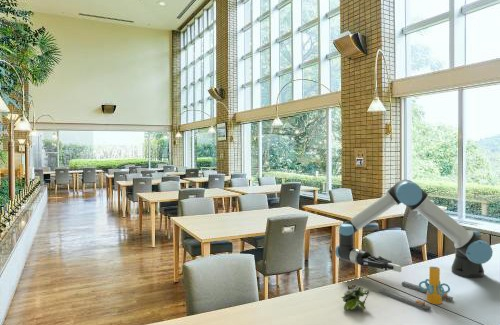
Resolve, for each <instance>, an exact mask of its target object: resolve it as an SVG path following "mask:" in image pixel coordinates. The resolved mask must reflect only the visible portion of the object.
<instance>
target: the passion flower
mask: <svg viewBox="0 0 500 325" xmlns="http://www.w3.org/2000/svg"><path fill="white" fill-rule="evenodd" d="M347 289H348V291H345V292H344V294H343V296H341V299H342V302H344V305H343V309H344V311H348V310H350V311H351V310H352V311H353V310H354V309H356V307H358V306H360V307H361V308H362V311H364V310H365V309H367V308H366V306H365V304H366V300H367V298H368V296H369V294H370V291H369V289H366V290H364V288H363V287H361V286H359V287H358V286H357V284H351V285H347ZM365 295H366V296H365ZM364 296H365V298H364V300H363V301H362V300H360V297H362V298H363V297H364Z"/></svg>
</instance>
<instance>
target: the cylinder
mask: <svg viewBox="0 0 500 325" xmlns="http://www.w3.org/2000/svg"><path fill="white" fill-rule="evenodd" d="M440 270H441V269H440V267H437V266H429V272H428V273H429V274H428V276H429V278H426V279H425V280H421V281H420V282H419V283H418V284H419V285H418V286H419V287H420V289H421V290H424V291H426V290H427V294H426V301H427V302H428V303H430V304H432V305H441V304H442V303H443V299H442V296H443V295H444V293H447V294H448V293H449V292H450V291H451V286H449V284H447V283H441V279H440V274H441V271H440ZM422 284H424V285H425V288H426V289H423V288H424V287H423V288H422ZM443 286H445V287H447V290H446V291H445V289H444V287H443ZM441 292H442V293H441Z"/></svg>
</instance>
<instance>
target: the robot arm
mask: <svg viewBox="0 0 500 325" xmlns="http://www.w3.org/2000/svg"><path fill="white" fill-rule="evenodd" d="M400 204H403V205H405V206H406V208H408V209H409V210H411V211H413V212H416V211H417V213H419V214H420V215H421V216H422V217H424V219H426V220H427V221H428V222H429V223H430V224H432V225H433V226H434V227H435V228H436V229H437V230H439V231H440V232H441V233H442V234H444V235H445V236H446V237H447V238H448V239H450V241H452V243H453V244H454V248H455V250H454V251H455V252H454V253H455V254H454V255H455V256H454V259H453V263H452V265H451V273H453V274H454V275H458V276H460V277H464V278H472V279H476V278H483V277H485V270H484V267H483V264H486V263H488V262H490V260H491V258H492V257H493V253H494V252H493V248H492V246H491V245H490V243H489V242H488V241H485V240H484V239H482V234H481V232H480V231H478V230H471V229H469V230H468V229H466V228H464V226H462V225H461V224H459V222H458V221H456V220H455V219H454V218H452V217H451V215H449V214H447V213H446V212H445V211H444V210H443V209H441V207H439V206H438V205H437V204H435V203H434V201H432V200H431V199H430V198H429V194H428V193H427V192H426V191H425V190H424V189H422V188H421V187H420V185H419V184H417V183H416V182H414V181H412V180H409V179H401V180H399V181H398V182H396V183H395V184H394V185H393V186H391V187H390V188H389V189H387V190H386V192H385V194H384V195H382V196H381V197H379V198H378V199H377V200H375V201H374V202H373V203H371V204H370V205H369V206H367V207H365V208H364V209H363V210H361V211H359V212H358V213H357V214H355V215H354V216H353V217H352V218H350V219H348V220H347V221H345V222H343V223H341V224H340V225H339V226H338V228H339V229H338V232H339V233H338V235H339V236H338V237H339V239H338V240H339V244H338V245H337V246H336V247H335V250H334V254H335V256H336V257H337V258H338V259H341V260H342V261H346V262H349V263H353V264H355V265H359V266H362V267H371V268H375V269H380V270H384V271H388V270H390V271H394V272H396V273H397V272H398V273H402V265H399V264H396V263H392V260H389V259H387V258H384V257H382V256H378V257H377V256H375V255H374V256H373V255H371V253H370V252H369V251H365V250H361V249H358V248H355V247H354V245H355V244H354V241H355V240H354V234H355V233H357V232H358V231H359V230H361V229H362V228H364V227H365V226H367V225H368V224H369V223H371V222H373V221H374V220H375V219H377V218H378V217H379V216H381V215H383V214H384V213H385V212H387V211H388V210H390V209H391V208H392V207H394V206H396V205H397V206H398V205H400Z"/></svg>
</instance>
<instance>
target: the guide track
mask: <svg viewBox="0 0 500 325" xmlns="http://www.w3.org/2000/svg"><path fill="white" fill-rule="evenodd" d="M401 285H402V286H403V287H406V288H409V289H412V290H416V291H418V292H421V293H422V294H423V293H424V294H426V295H427V290H426V291H424V290H421V289H420V287H419V285H416V284H414V283H410V282H408V281H405V280H404V281H402V282H401ZM421 287H422V286H421ZM422 288H423V289H426V288H427V287H422ZM379 293H380V294H382V295H385V296H387V297H390V298H392V299H395V300H398V301H400V302H402V303H405V304H408V305H410V306H413V307H415V308H417V309H421V310H423V311H426V312H430V311H431V310H432V309H431V308H432V307H431V305H427V304H426V302H425V301H423V300H421V299H416V300H414V299H412V298H409V297H406V296H404V295H400V294H398V293H395V292H392V291H390V290H387V289H385V288H380V289H379ZM441 293H442V292H441ZM442 300H444V301H447V302H453V301H454V297H452V296H449V295H448V293H444V295H443V296H442Z"/></svg>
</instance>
